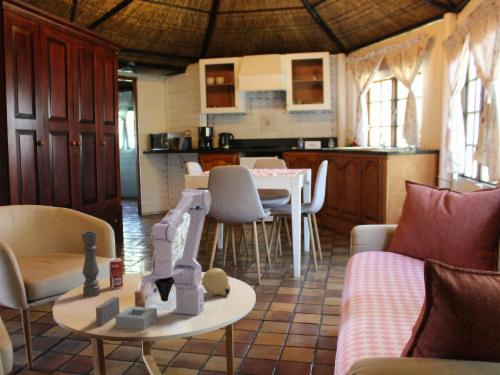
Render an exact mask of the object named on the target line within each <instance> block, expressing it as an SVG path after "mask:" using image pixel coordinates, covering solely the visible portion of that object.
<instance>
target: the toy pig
mask: <svg viewBox="0 0 500 375" xmlns="http://www.w3.org/2000/svg"><path fill="white" fill-rule="evenodd" d="M200 284H201V286H203V289H204V290H205V291H206V292H207V294H206V295H207V296H208V297H210V296H221V297H222V296H223V297H224V296H227V295H230V291H231V285H230V284H229V277H228V275H227V273H226V272H225V271H224V270H223V269H221V268H218V267H213V268H211V269H209V270H207V271H206V272H205V273H204V274H203V276H202V277H201V282H200Z"/></svg>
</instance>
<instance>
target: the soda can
mask: <svg viewBox="0 0 500 375" xmlns="http://www.w3.org/2000/svg"><path fill="white" fill-rule="evenodd" d="M109 260H110V261H109V265H108V266H109V288H110V289H112V290H120V289H122V288H123V287H124V276H123V275H124V273H123V272H124V271H123V269H124V268H123V266H124V265H123V260H122V258H121V257H113V258H110V259H109Z"/></svg>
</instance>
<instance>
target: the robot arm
mask: <svg viewBox="0 0 500 375" xmlns="http://www.w3.org/2000/svg"><path fill="white" fill-rule="evenodd" d="M211 203H212V196H211V193H210V191H209V189H192V188H191V189H188V188H184V189H182V191H181V193H180V200H179V202H178V203H177V205H176V207H175V208H173V209H169V211H168V212H167V213H166V214H165V216H164V217H163V218H162V219H161V220H160V221H159V222H156V223H155V224H153V225H152V227H151V229H150V233H149V235H150V239H151V241H152V246H153V247H154V272H153V273H150V274H147V275H142V276H141V277H142V282H141V283H143V284H148V283H151V282H153V283H154V285H155V286H156V288H157V290H158V293H159V297H160V301H162V302H163V303H164V302H168V301H169V296H170V293H171V289H172V287H174V288H175V308H174V309H173V311H172V312H171V313H172V314H181V315H193V316H198V315H199V314H200V313H201V312H202V311H203V309H205V306H204V304H205V303H204V301H205V300H204V287H201V286H199V285H200V284H201V282H202V270H203V269H202V267H203V266H202V265H201V264H200V263H199V262H198V261H197V257H198V252H199V247H200V242H201V237H202V232H203V229H204V228H203V227H204V223H205V220H206V219H205V218H206V216H207V215H209V212H210V208H211ZM186 213H187V214H188V215H189V216H190V219H189V225H188V229H187V233H186V238H185V242H184V247H183V252H182V257H181V258H180V259H178V260H176V261H175V262H174V261H173V241H174V240H175V238H176V234H177V232H178V228H179V227H180V225H181V224H182V223H183V221H184V216H185V215H186ZM173 263H174V265H173Z"/></svg>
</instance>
